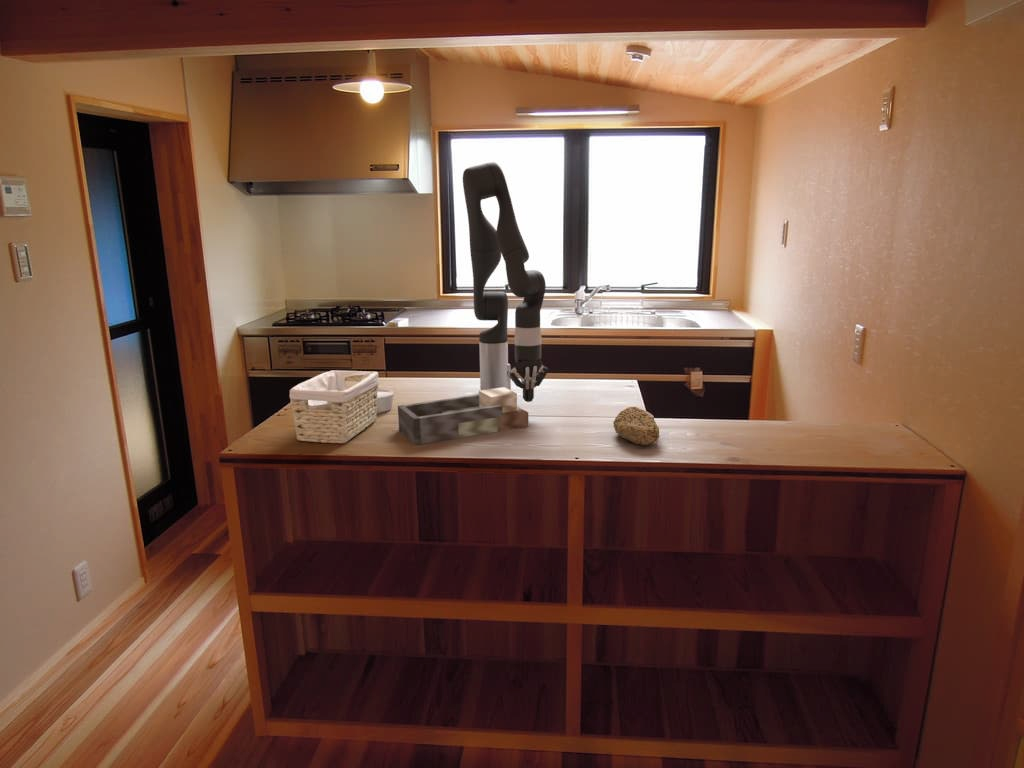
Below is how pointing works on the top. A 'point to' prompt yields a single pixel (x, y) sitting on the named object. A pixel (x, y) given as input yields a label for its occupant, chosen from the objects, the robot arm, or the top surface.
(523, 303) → the robot arm
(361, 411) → the storage basket
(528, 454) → the top surface
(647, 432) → the sponge
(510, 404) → the block
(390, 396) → the ramekin
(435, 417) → the lane
